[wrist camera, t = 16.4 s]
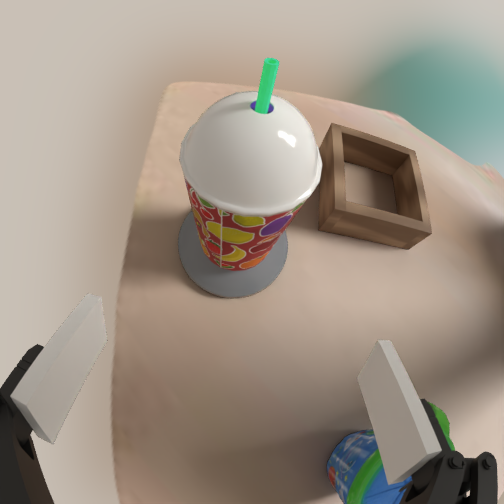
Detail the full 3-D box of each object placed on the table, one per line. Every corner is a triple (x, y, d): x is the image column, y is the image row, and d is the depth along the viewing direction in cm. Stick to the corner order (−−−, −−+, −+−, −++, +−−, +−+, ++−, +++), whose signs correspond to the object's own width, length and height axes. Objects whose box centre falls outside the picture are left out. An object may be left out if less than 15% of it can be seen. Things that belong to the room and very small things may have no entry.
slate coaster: (235, 182, 32) (236, 177, 32) (306, 249, 31) (309, 246, 30) (157, 241, 29) (156, 237, 28) (230, 321, 27) (231, 320, 26)
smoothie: (207, 196, 30) (211, 16, 12) (283, 217, 30) (360, 53, 12) (181, 269, 27) (133, 99, 9) (266, 293, 27) (368, 157, 9)
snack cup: (371, 377, 26) (434, 378, 17) (423, 423, 25) (484, 432, 15) (272, 488, 21) (299, 539, 12) (338, 524, 19) (379, 565, 10)
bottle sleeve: (319, 148, 36) (331, 122, 32) (397, 171, 37) (415, 151, 32) (318, 230, 32) (335, 208, 27) (408, 249, 32) (431, 233, 28)
